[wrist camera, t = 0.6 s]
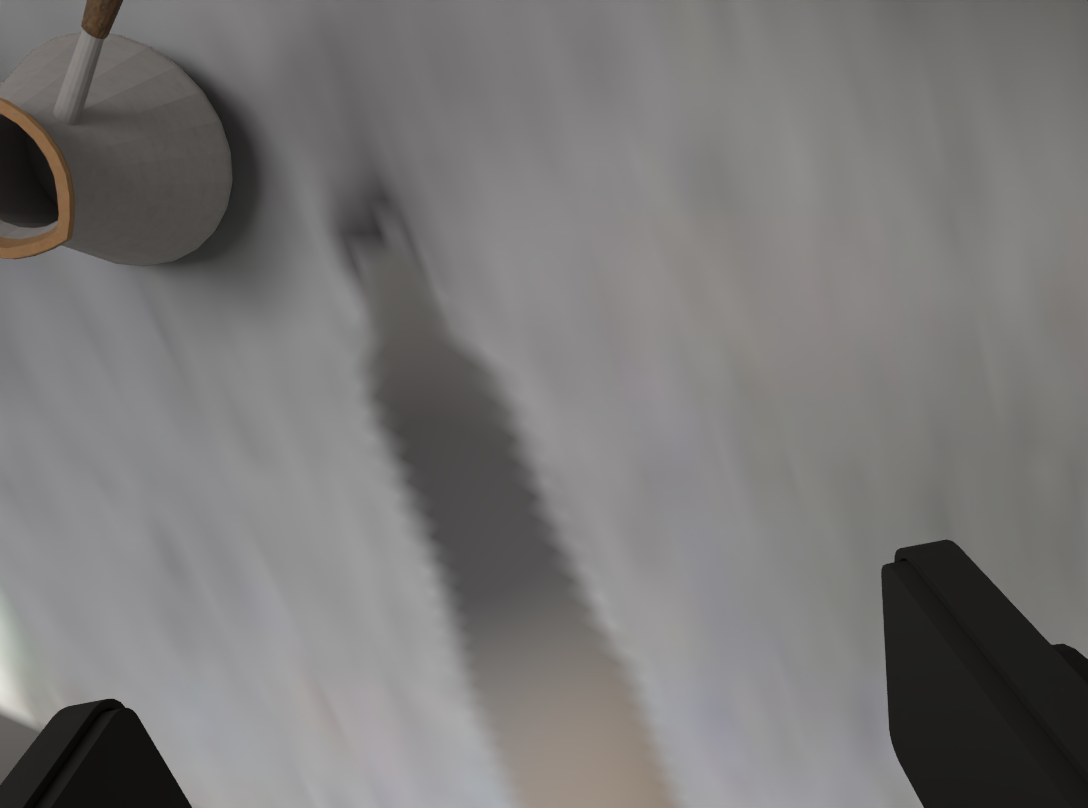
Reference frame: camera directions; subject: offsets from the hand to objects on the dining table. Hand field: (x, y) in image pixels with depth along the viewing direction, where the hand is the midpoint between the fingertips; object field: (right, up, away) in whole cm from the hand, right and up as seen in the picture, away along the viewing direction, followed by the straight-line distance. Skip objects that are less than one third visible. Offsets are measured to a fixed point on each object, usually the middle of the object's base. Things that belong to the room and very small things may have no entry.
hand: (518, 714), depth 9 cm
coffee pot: (-18, +21, +30) cm, 41 cm away
